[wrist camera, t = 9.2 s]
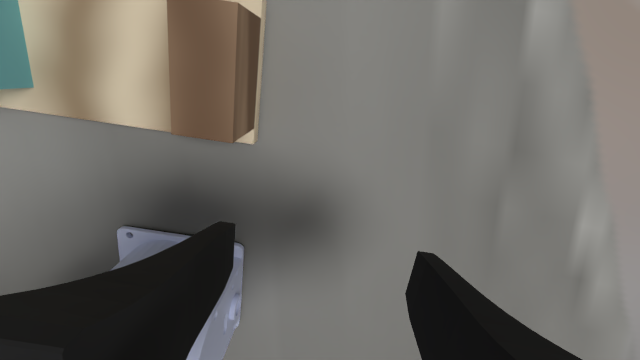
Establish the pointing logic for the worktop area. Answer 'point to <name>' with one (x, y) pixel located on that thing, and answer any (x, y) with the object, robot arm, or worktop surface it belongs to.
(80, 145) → the worktop surface
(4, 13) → the cube
